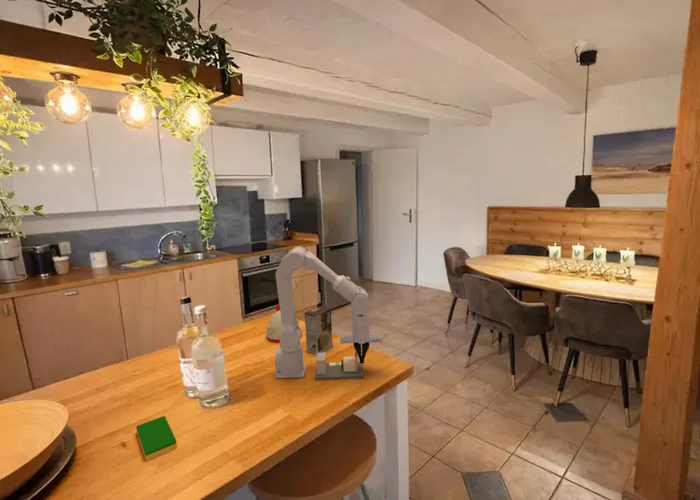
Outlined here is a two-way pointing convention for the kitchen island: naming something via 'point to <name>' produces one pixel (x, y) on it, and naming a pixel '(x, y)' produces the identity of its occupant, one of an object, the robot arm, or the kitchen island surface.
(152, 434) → the dish sponge
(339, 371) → the board
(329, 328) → the coffee box
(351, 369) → the cream and red block
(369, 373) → the kitchen island surface
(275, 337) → the kitchen timer
